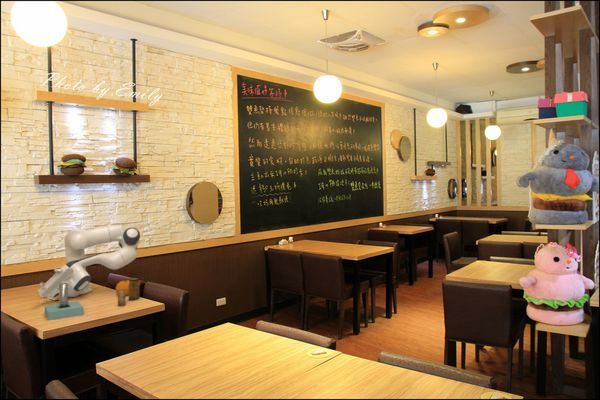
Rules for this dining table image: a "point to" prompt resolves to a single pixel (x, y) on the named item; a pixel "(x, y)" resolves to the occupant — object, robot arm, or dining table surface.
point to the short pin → (121, 297)
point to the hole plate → (63, 310)
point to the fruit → (123, 286)
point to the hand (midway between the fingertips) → (48, 276)
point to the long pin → (63, 295)
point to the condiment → (134, 289)
